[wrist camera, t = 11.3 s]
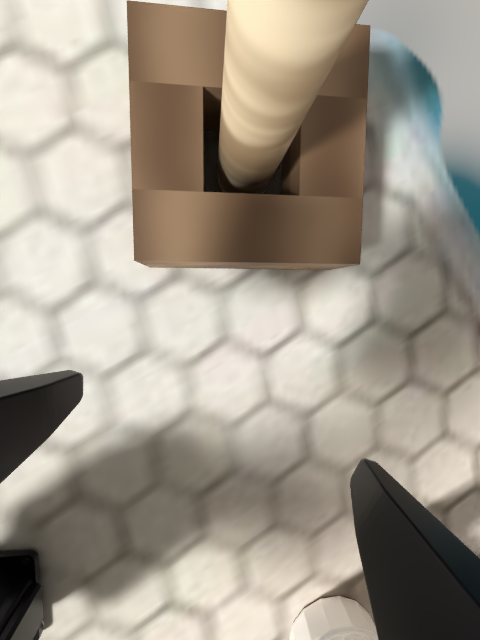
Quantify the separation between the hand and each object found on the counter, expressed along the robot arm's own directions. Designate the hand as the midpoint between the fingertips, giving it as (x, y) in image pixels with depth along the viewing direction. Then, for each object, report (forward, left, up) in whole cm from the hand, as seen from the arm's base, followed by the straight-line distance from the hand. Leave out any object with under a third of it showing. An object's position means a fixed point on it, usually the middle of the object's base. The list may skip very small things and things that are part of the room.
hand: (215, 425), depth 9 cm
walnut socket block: (+2, +12, -11) cm, 16 cm away
